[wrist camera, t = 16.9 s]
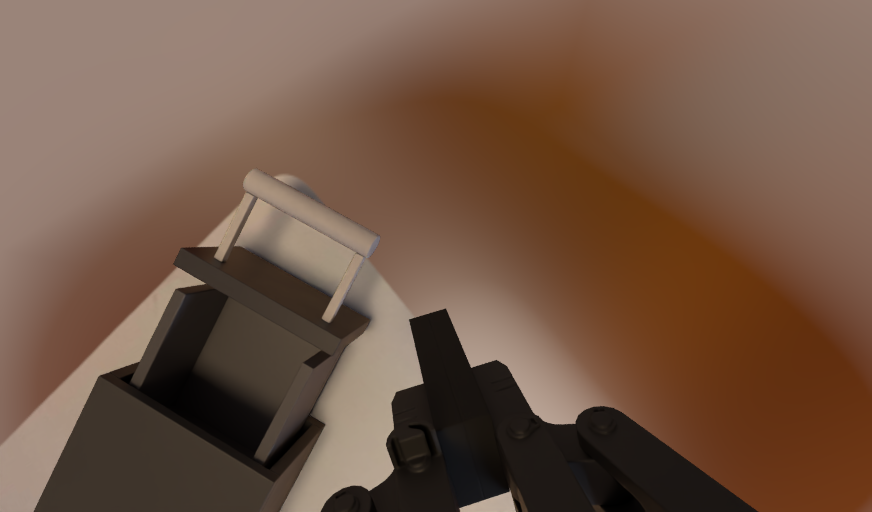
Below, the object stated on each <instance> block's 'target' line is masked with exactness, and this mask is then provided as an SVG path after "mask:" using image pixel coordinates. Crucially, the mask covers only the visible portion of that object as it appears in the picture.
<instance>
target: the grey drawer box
mask: <svg viewBox="0 0 872 512" xmlns="http://www.w3.org/2000/svg"><path fill="white" fill-rule="evenodd" d="M139 363H140V362H137V363H134V364H131V365H129V366H126V367H123V368H120V369H117V370H114V371H111V372H109V373H106V374H103V375H100V376H99V377H98V379H97V381H96V383H95V385H94V387H93V389H92V391H91V393H90V396H89V398H88V400H87V402H86V404H85V406H84V408H83V410H82V412H81V414H80V416H79V418H78V420H77V423H76V425H75V427H74V429H73V431H72V433H71V435H70V437H69V439H68V441H67V443H66V445H65V448H64V450H63V452H62V454H61V456H60V458H59V460H58V462H57V464H56V466H55V468H54V470H53V472H52V475H51V477H50V479H49V481H48V483H47V485H46V487H45V489H44V491H43V493H42V495H41V497H40V499H39V502H38V504H37V506H36V508H35V510H34V512H279V511H280V509H281V507H282V505H283V503H284V501H285V500H286V498H287V496H288V494H289V492H290V490H291V488H292V486H293V485H294V483H295V481H296V479H297V477H298V475H299V473H300V471H301V470H302V468H303V466H304V464H305V462H306V460H307V458H308V456H309V454H310V453H311V451H312V449H313V447H314V445H315V443H316V441H317V439H318V438H319V436H320V434H321V432H322V430H323V428H324V426H325V425H324V424H323V423H321V422H319V421H318V420H316V419H314V418H312V417H311V416H309V415H308V417H307V419H306V421H305V423H304V425H303V427H302V428H301V430H300V432H299V434H298V436H297V438H296V440H295V442H294V444H293V445H292V446H291V447H290V448H289V450H288V451H287V452H286V453H285V454H284V455H283V456H282V457H281V458H280V459H279V460H278V461H277V462H276V463H275V464H274V465H273V466H272V467H271V469H270V470H269V469H267V468H265V467H264V466H262V465H260V464H259V463H257V462H255V461H254V460H252V459H250V458H249V457H247V456H246V455H244V454H242V453H241V452H239V451H237V450H236V449H234V448H232V447H231V446H229V445H227V444H226V443H224V442H222V441H221V440H219V439H218V438H216V437H214V436H213V435H211V434H209V433H208V432H206V431H204V430H203V429H201V428H199V427H198V426H196V425H194V424H193V423H191V422H190V421H188V420H186V419H185V418H183V417H181V416H180V415H178V414H176V413H175V412H173V411H171V410H170V409H168V408H167V407H165V406H163V405H162V404H160V403H158V402H157V401H155V400H153V399H152V398H150V397H148V396H147V395H145V394H143V393H142V392H140V391H139V390H137V389H135V388H134V387H132V386H130V385H129V383H130V381H131V379H132V377H133V375H134V373H135V371H136V369H137V367H138V365H139Z"/></svg>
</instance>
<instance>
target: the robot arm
mask: <svg viewBox="0 0 872 512" xmlns="http://www.w3.org/2000/svg"><path fill="white" fill-rule="evenodd" d="M409 321H410V325H411V330H412V334H413V338H414V343H415V347H416V351H417V356H418V360H419V364H420V369H421V373H422V377H423V382H424V384H421V385H417V386H414V387H411V388H408V389H404V390H401V391H398V392H396V394H395V396H394V399H393V401H392V413H393V422H394V430H393V431H392V432H391V433H390V435H389V436H388V438H387V443H386V447H387V450H388V452H389V455H390V458H391V461H392V464H393V466H394V470H393V472H392V474H391V475H390V476H389V477H388V478H387V479H386V480H385V481H384V482H382V483H381V484H380V485H378V486H377V487H375V488H373V489H372V490H370V491H368V490H367V489H365V488H363V487H362V486H350V487H346V488H343V489H341V490H340V491H338V492H336V493H335V494H333V495H332V496H331V497H330V498H329V499H328V500H327V501H326V503H325V505H324V506H323V508H322V510H321V512H460V509H459V508H461V507H464V506H467V505H470V504H473V503H476V502H479V501H482V500H485V499H488V498H491V497H494V496H498V495H501V494H504V493H507V492H510V491H511V493H512V497H513V501H514V505H515V509H516V512H758V511H756V510H755V509H754V508H752V507H751V506H749V505H748V504H747V503H745V502H744V501H743V500H741V499H740V498H739V497H737V496H736V495H734V494H733V493H732V492H730V491H729V490H728V489H726V488H725V487H723V486H722V485H721V484H719V483H718V482H717V481H715V480H714V479H712V478H711V477H710V476H708V475H707V474H706V473H704V472H703V471H702V470H700V469H699V468H697V467H696V466H695V465H693V464H692V463H691V462H689V461H688V460H686V459H685V458H684V457H682V456H681V455H680V454H678V453H677V452H675V451H674V450H673V449H671V448H670V447H669V446H667V445H666V444H665V443H663V442H662V441H660V440H659V439H658V438H656V437H655V436H654V435H652V434H651V433H650V432H648V431H647V430H645V429H644V428H643V427H641V426H640V425H638V424H637V423H636V422H634V421H633V420H631V419H630V418H629V417H627V416H626V415H625V414H623V413H622V412H620V411H618V410H616V409H614V408H609V407H605V406H600V407H592V408H589V409H586V410H584V411H583V412H582V413H581V414H580V415H578V418H577V420H576V424H564V425H561V424H560V425H559V424H558V425H557V424H556V425H555V424H551V423H547V422H544V421H543V420H542V419H541V418H539V416H537V415H535V414H534V413H533V412H532V410H531V408H530V406H529V404H528V403H527V401H526V399H525V397H524V396H523V394H522V392H521V390H520V389H519V387H518V385H517V383H516V382H515V380H514V378H513V376H512V374H511V372H510V371H509V369H508V367H507V366H506V365H504V364H502V363H501V362H499V361H497V360H495V361H492V362H489V363H485V364H482V365H479V366H476V367H473V368H471V367H470V364H469V362H468V360H467V357H466V355H465V353H464V350H463V348H462V345H461V343H460V341H459V338H458V336H457V334H456V331H455V329H454V327H453V324H452V322H451V319H450V317H449V315H448V312H447V310H446V309H443V310H439V311H436V312H433V313H429V314H426V315H423V316H419V317H416V318H412V319H409ZM509 488H510V490H509Z"/></svg>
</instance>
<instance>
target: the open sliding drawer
mask: <svg viewBox="0 0 872 512" xmlns="http://www.w3.org/2000/svg"><path fill="white" fill-rule="evenodd" d="M243 188H244V190H245V191H247V192H246V193H245V196H244V197H243V199H242V201H241V203H240V205H239V207H238V209H237V211H236V213H235V215H234V218H233V220H232V222H231V224H230V226H229V228H228V230H227V232H226V234H225V236H224V238H223V240H222V242H221V244H220V246H219V247H192V248H181V249H180V251H179V253H178V255H177V257H176V259H175V262H174V265H175V266H177V267H178V268H180V269H182V270H184V271H185V272H187V273H189V274H190V275H192V276H194V277H196V278H197V279H199V280H201V281H203V282H204V283H206V284H204V285H197V286H191V287H185V288H178V289H175V291H174V293H173V295H172V297H171V299H170V301H169V303H168V305H167V307H166V309H165V311H164V314H163V316H162V318H161V320H160V322H159V324H158V326H157V328H156V330H155V332H154V334H153V336H152V338H151V340H150V342H149V344H148V346H147V348H146V350H145V352H144V355H143V357H142V359H141V361H140V363H139V365H138V367H137V369H136V371H135V373H134V375H133V377H132V379H131V381H130V383H129V385H130V386H132V387H134V388H135V389H137V390H139V391H140V392H142V393H143V394H145V395H147V396H148V397H150V398H152V399H153V400H155V401H157V402H158V403H160V404H162V405H163V406H165V407H167V408H168V409H170V410H171V411H173V412H175V413H176V414H178V415H180V416H181V417H183V418H185V419H186V420H188V421H190V422H191V423H193V424H194V425H196V426H198V427H199V428H201V429H203V430H204V431H206V432H208V433H209V434H211V435H213V436H214V437H216V438H218V439H219V440H221V441H222V442H224V443H226V444H227V445H229V446H231V447H232V448H234V449H236V450H237V451H239V452H241V453H242V454H244V455H246V456H247V457H249V458H250V459H252V460H254V461H255V462H257V463H259V464H260V465H262V466H264V467H265V468H267V469H269V470H270V469H271V467H272V466H273V465H274V464H275V463H276V462H277V461H278V460H279V459H280V458H281V457H282V456H283V455H284V454H285V453H286V452H287V451H288V450H289V448H290V447H291V446H292V445H293V444H294V442H295V440H296V438H297V436H298V434H299V432H300V430H301V428H302V427H303V425H304V423H305V421H306V419H307V417H308V415H309V413H310V411H311V410H312V408H313V406H314V404H315V402H316V400H317V398H318V396H319V394H320V392H321V391H322V389H323V387H324V385H325V383H326V381H327V379H328V377H329V375H330V374H331V372H332V370H333V368H334V366H335V364H336V362H337V360H338V358H339V357H340V355H341V353H342V351H343V349H344V347H346V346H347V345H348V344H350V343H351V342H352V341H354V340H355V339H356V338H358V337H359V336H360V335H362V334H363V333H364V331H365V329H366V327H367V325H368V323H369V322H370V319H368V318H366V317H364V316H363V315H361V314H359V313H357V312H355V311H354V310H352V309H350V308H348V307H347V306H345V305H343V304H342V302H343V301H344V299H345V297H346V295H347V293H348V291H349V289H350V287H351V285H352V283H353V281H354V280H355V278H356V276H357V274H358V272H359V270H360V268H361V266H362V264H363V262H364V260H365V259H366V258H369V257H370V256H371V255H372V253H373V252H374V251H375V249H376V248H377V246H378V243H379V241H380V236H379V235H378V234H376V233H374V232H373V231H371V230H369V229H367V228H365V227H363V226H362V225H360V224H358V223H356V222H354V221H352V220H351V219H349V218H347V217H345V216H343V215H341V214H339V213H338V212H336V211H334V210H332V209H330V208H329V207H327V206H325V205H323V204H321V203H320V202H318V201H316V200H314V199H312V198H310V197H309V196H307V195H305V194H303V193H301V192H299V191H298V190H296V189H294V188H292V187H290V186H288V185H287V184H285V183H283V182H281V181H279V180H278V179H276V178H274V177H272V176H270V175H268V174H267V173H265V172H263V171H261V170H259V169H253V170H251V171H250V172H249V173H248V174H247V176H246V178H245V179H244V183H243ZM257 198H259V199H261V200H263V201H265V202H267V203H268V204H270V205H272V206H274V207H276V208H277V209H279V210H281V211H283V212H285V213H286V214H288V215H290V216H292V217H294V218H295V219H297V220H299V221H301V222H303V223H305V224H306V225H308V226H310V227H312V228H314V229H315V230H317V231H319V232H321V233H323V234H324V235H326V236H328V237H330V238H332V239H333V240H335V241H337V242H339V243H341V244H342V245H344V246H346V247H348V248H350V249H352V250H353V251H355V252H357V253H355V255H354V257H353V259H352V261H351V263H350V265H349V267H348V269H347V270H346V272H345V274H344V276H343V278H342V280H341V282H340V284H339V286H338V288H337V290H336V292H335V293H334V295H333V297H332V298H331V297H329V296H327V295H325V294H324V293H322V292H320V291H318V290H317V289H315V288H313V287H311V286H309V285H308V284H306V283H304V282H302V281H301V280H299V279H297V278H295V277H294V276H292V275H290V274H288V273H286V272H285V271H283V270H281V269H279V268H278V267H276V266H274V265H272V264H271V263H269V262H267V261H265V260H263V259H262V258H260V257H258V256H256V255H255V254H253V253H251V252H249V251H248V250H246V249H244V248H242V247H240V246H234V245H235V243H236V241H237V239H238V237H239V235H240V233H241V231H242V229H243V227H244V225H245V223H246V221H247V219H248V216H249V214H250V212H251V210H252V208H253V206H254V204H255V202H256V200H257Z"/></svg>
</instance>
